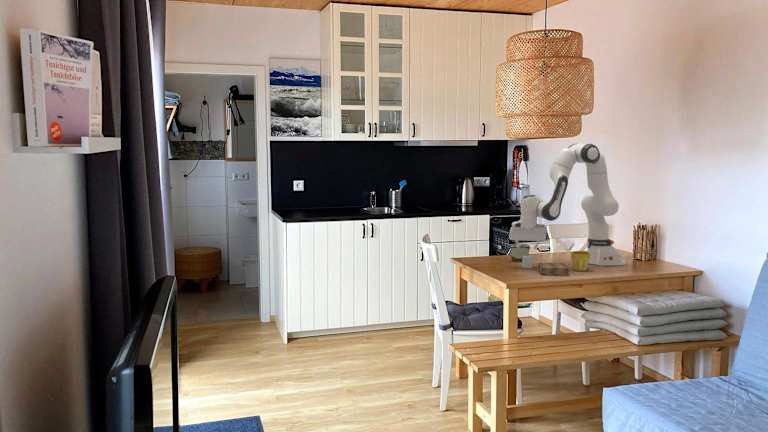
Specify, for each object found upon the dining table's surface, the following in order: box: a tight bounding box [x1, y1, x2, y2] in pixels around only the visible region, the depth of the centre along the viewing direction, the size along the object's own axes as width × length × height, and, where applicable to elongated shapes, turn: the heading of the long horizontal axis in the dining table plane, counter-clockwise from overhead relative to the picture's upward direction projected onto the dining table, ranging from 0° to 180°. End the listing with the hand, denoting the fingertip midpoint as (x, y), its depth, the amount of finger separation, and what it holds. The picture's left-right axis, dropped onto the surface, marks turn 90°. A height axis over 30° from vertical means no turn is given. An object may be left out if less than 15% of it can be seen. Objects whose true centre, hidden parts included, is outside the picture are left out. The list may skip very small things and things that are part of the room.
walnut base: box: [537, 262, 569, 277], centre depth 350 cm, size 14×14×4 cm
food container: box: [508, 243, 531, 263], centre depth 382 cm, size 12×6×10 cm, turn 84°
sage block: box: [521, 255, 534, 269], centre depth 365 cm, size 5×5×6 cm
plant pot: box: [570, 250, 590, 272], centre depth 357 cm, size 10×10×10 cm
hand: (527, 248), depth 364 cm, fingers open, 8 cm apart
